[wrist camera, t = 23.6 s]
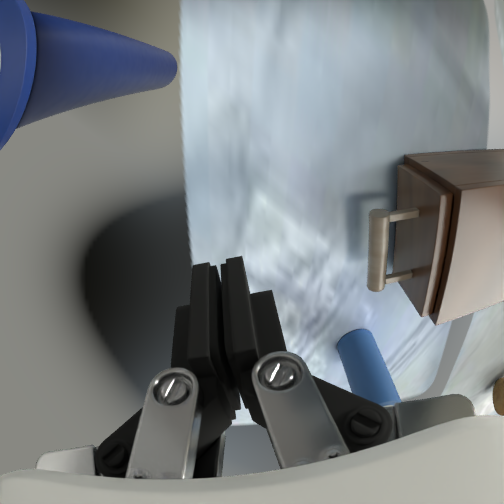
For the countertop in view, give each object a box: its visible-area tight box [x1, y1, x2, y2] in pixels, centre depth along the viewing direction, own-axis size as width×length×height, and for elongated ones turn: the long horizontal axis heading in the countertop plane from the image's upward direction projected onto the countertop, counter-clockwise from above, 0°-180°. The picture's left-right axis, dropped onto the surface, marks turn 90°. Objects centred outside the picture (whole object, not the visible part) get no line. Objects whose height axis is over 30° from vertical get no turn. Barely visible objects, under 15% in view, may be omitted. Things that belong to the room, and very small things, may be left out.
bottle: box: [337, 329, 401, 407], centre depth 31 cm, size 5×5×12 cm
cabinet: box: [404, 149, 504, 325], centre depth 24 cm, size 15×13×9 cm
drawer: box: [367, 164, 454, 317], centre depth 24 cm, size 18×11×7 cm, turn 100°
